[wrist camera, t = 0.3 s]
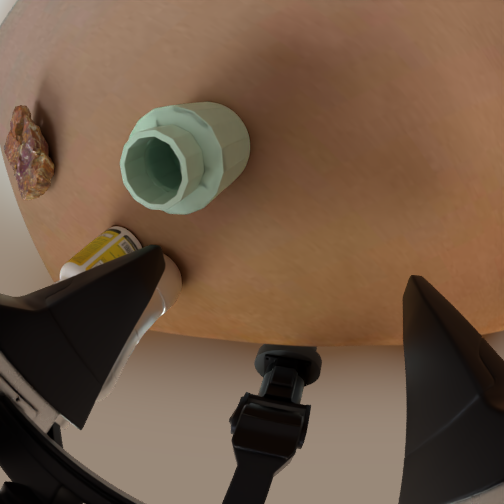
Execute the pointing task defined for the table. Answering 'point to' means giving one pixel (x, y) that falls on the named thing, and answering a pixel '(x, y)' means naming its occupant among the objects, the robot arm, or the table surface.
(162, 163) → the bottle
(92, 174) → the table surface
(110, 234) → the pill bottle
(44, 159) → the mineral specimen
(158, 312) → the plastic bottle
